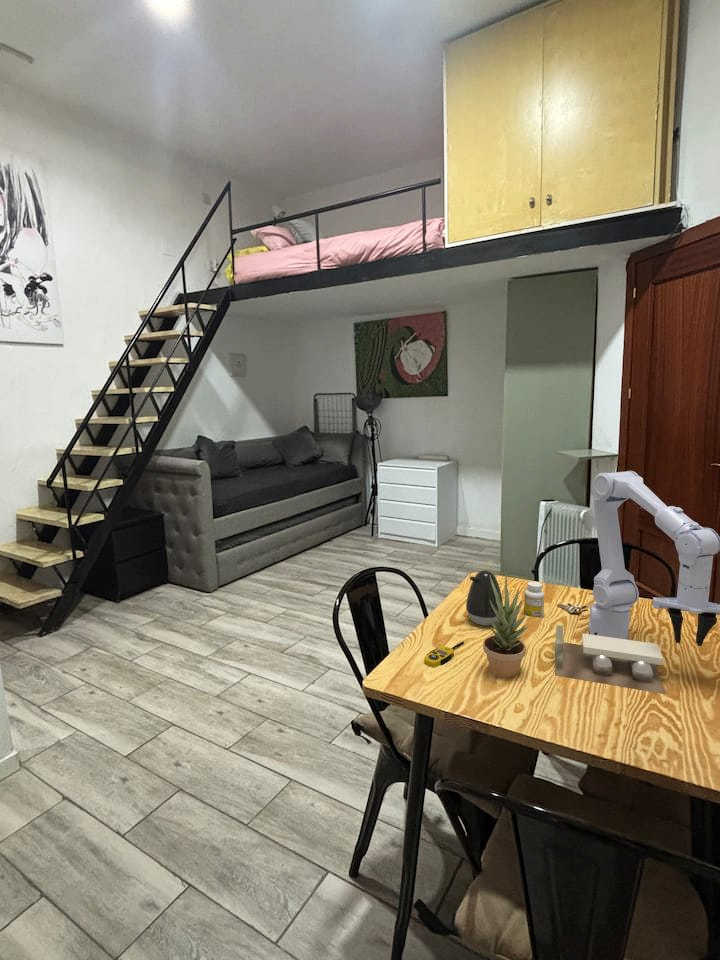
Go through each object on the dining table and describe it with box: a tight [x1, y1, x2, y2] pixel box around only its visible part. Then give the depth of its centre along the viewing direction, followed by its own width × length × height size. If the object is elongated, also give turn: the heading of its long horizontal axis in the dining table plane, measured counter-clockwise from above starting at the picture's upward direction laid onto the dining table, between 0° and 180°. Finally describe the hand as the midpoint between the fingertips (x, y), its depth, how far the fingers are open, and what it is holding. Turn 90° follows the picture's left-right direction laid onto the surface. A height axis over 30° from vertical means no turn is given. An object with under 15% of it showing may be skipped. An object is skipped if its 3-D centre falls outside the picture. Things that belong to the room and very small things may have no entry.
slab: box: [581, 633, 664, 666], centre depth 118 cm, size 16×7×2 cm, turn 69°
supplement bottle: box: [523, 580, 545, 619], centre depth 148 cm, size 5×5×10 cm
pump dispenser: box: [465, 569, 504, 627], centre depth 144 cm, size 10×10×15 cm
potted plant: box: [482, 574, 529, 679], centre depth 117 cm, size 10×10×25 cm
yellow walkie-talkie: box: [423, 641, 465, 668], centre depth 128 cm, size 5×2×15 cm
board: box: [554, 624, 667, 695], centre depth 119 cm, size 22×17×7 cm
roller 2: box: [629, 660, 653, 682], centre depth 117 cm, size 4×10×4 cm, turn 159°
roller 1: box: [591, 654, 613, 675], centre depth 120 cm, size 4×10×4 cm, turn 159°
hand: (687, 642), depth 113 cm, fingers open, 3 cm apart
